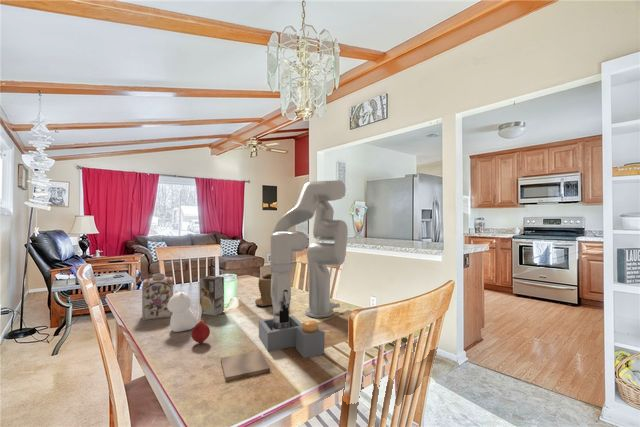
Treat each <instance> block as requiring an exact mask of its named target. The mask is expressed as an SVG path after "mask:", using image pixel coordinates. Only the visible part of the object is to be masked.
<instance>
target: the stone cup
mask: <svg viewBox="0 0 640 427" xmlns="http://www.w3.org/2000/svg"><path fill="white" fill-rule="evenodd" d="M271 276H272V273H271V272H270V273H266V274H264V275H263V274H262V275H261V276H259V278H258V289H259V292H260V298H257V299H255V300H254V303H255V304H256V305H257V306H260V307H264V306H265V307H266V306H273V305H272V298H271Z"/></svg>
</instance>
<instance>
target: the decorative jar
mask: <svg viewBox="0 0 640 427" xmlns="http://www.w3.org/2000/svg"><path fill="white" fill-rule="evenodd" d="M141 288H142V289H141V290H142V291H141V292H142V293H141V294H142V295H141V296H142V297H141V316H142V317H141V318H142V321H148V320H155V319H164V318H171V316H172V314H173V312H171V311H170V310H168V308H167V305H168V302H169V300H170V298H171V297H172V296H173V295H174V277H173V276H165V273H161V272H158V273H154V274H152V277H149V278H146V279H144V280H143V281H142V287H141Z"/></svg>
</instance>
